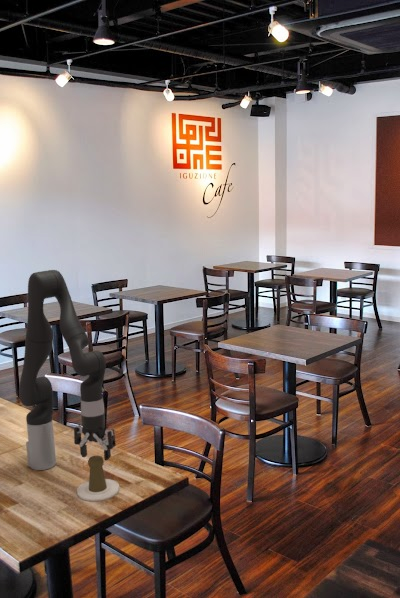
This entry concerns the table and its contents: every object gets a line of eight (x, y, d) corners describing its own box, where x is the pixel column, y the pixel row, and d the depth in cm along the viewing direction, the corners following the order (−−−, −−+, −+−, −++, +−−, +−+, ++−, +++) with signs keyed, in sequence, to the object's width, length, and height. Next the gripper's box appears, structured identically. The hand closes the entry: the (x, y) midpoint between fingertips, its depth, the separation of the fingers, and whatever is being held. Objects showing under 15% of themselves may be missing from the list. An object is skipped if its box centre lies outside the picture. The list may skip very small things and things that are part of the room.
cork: (103, 492, 202) (100, 461, 201) (85, 491, 204) (83, 460, 202) (109, 484, 208) (107, 453, 206) (92, 483, 209) (90, 452, 208)
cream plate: (69, 498, 202) (68, 495, 202) (90, 479, 215) (90, 476, 215) (106, 504, 197) (106, 501, 197) (126, 484, 210) (126, 481, 210)
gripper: (67, 413, 200) (71, 460, 203) (106, 417, 195) (109, 465, 198) (79, 405, 207) (83, 450, 210) (117, 409, 202) (120, 455, 205)
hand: (95, 458), depth 204 cm, fingers open, 8 cm apart
